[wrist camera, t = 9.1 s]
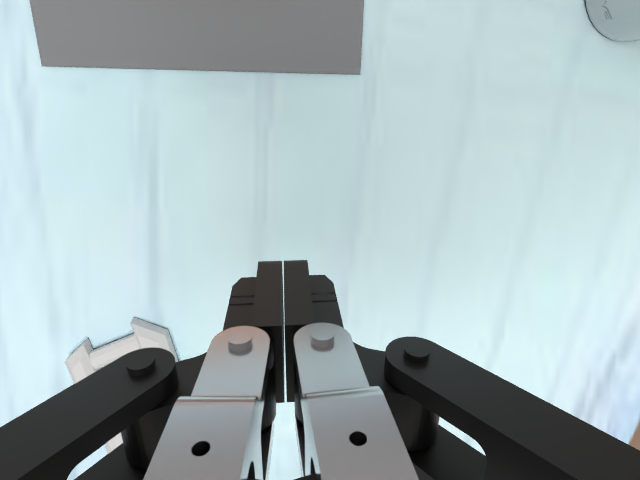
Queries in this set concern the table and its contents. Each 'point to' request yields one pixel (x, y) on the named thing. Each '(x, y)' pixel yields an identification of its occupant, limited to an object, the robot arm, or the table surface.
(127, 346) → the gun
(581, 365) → the table surface
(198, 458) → the robot arm
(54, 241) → the table surface
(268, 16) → the mat
